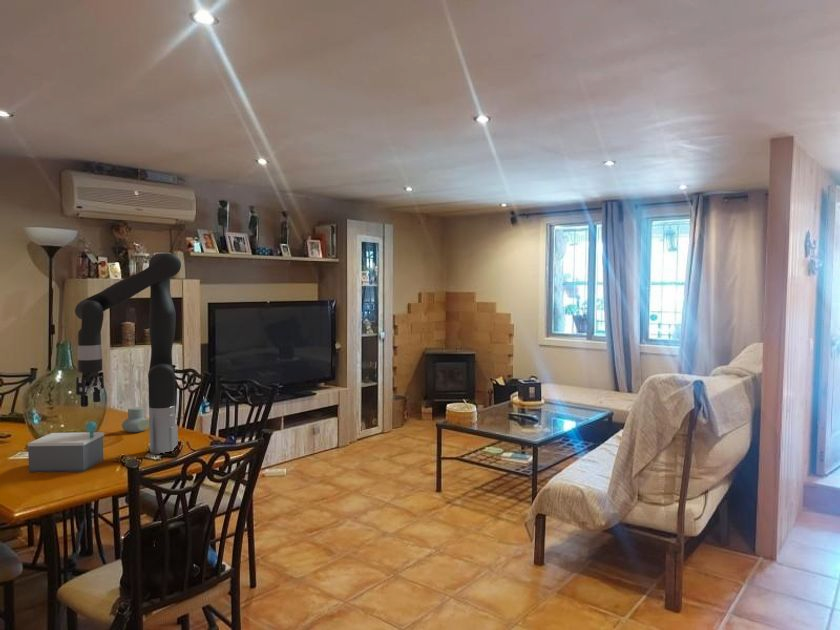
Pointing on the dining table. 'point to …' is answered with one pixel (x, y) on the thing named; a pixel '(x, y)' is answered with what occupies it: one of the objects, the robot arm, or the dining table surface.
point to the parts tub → (65, 457)
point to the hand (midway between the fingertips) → (90, 404)
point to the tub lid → (69, 438)
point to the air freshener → (135, 420)
